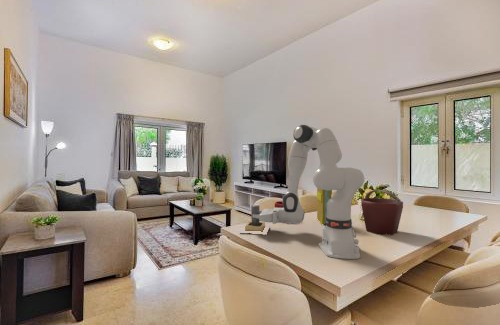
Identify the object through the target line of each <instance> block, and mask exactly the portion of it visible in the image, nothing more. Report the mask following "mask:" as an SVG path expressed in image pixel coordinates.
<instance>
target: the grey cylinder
mask: <svg viewBox="0 0 500 325" xmlns="http://www.w3.org/2000/svg"><path fill="white" fill-rule="evenodd" d="M260 211H261V209H260V205H258V204H257V205H256V204H253V205H251V207H250V212H251V213H250V214H251V216H250V218H251V220H250V222H251V226H260V222H261V221H259V219H258V218H253V217H252V215H253V214H256V215H258V214H260Z"/></svg>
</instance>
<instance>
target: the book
mask: <svg viewBox="0 0 500 325" xmlns="http://www.w3.org/2000/svg"><path fill="white" fill-rule="evenodd" d="M332 195H333V190H322V189H318V188H317V187H316V209H317V210H316V220H317V219H318V220H319V221H320V222H319V221H318V220H317V221H318V222H319V224H320V225H322V224H325V225H326V217H327V202H328V200H329V199H331V198H332Z"/></svg>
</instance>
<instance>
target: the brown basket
mask: <svg viewBox="0 0 500 325" xmlns="http://www.w3.org/2000/svg"><path fill="white" fill-rule="evenodd" d="M375 192H381V193H384V194H387V195H388V196H390V198H381V197H370V196H371V195H372V194H373V193H375ZM360 201H361V202H360V203H361V206H360V207H361V210H362V214H363V221H364V226H365V231H366V232H368V233H372V234H375V235H381V236H383V235H384V236H393V235H395V234H397V233H398V231H399V226H400V222H401V218H402V213H403V208H404V201H402V200H401V199H400V198H399V197H397V195H395V194H394V192H393V193H392V192H390V191H388V190H384V189H373V190H370V191H368V192H367V193H366V194H365V195H364V197H362V198H361V200H360Z"/></svg>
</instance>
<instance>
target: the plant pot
mask: <svg viewBox="0 0 500 325" xmlns="http://www.w3.org/2000/svg"><path fill="white" fill-rule="evenodd" d="M283 207H284V206H283V202H282V201H281V200H280V201H274V208H283Z"/></svg>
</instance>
